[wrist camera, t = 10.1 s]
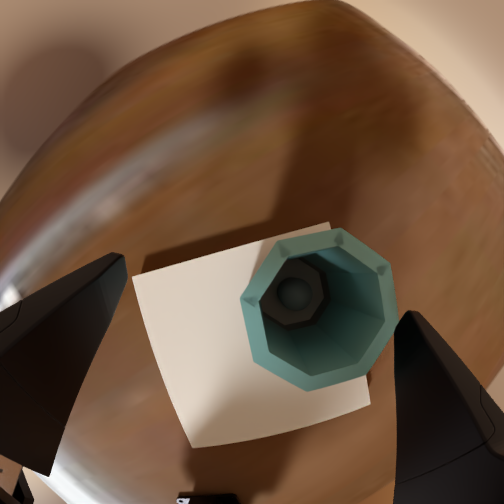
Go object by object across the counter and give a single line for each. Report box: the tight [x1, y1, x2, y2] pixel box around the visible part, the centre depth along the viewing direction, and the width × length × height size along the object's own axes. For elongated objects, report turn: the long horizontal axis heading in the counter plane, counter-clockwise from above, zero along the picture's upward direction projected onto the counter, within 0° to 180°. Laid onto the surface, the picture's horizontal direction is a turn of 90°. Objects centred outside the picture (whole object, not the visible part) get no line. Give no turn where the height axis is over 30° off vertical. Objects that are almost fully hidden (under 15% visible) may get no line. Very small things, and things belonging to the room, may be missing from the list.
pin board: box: [132, 222, 370, 448], centre depth 18 cm, size 15×15×5 cm
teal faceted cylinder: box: [240, 228, 399, 392], centre depth 14 cm, size 6×6×10 cm
